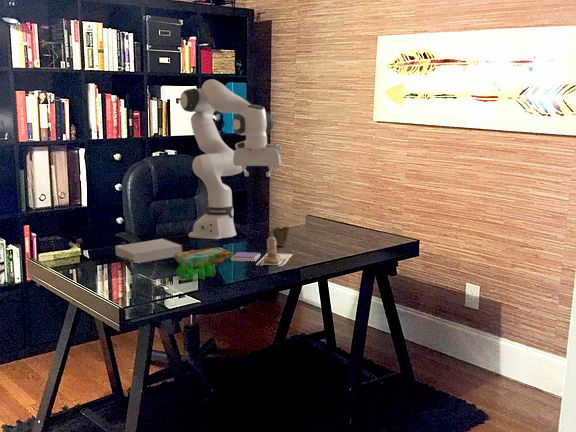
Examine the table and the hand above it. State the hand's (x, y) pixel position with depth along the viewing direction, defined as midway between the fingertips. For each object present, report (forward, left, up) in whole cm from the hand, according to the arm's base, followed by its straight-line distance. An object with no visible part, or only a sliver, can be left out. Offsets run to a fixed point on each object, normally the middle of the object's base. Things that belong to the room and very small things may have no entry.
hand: (257, 176), depth 279 cm
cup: (+9, +4, -31) cm, 33 cm away
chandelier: (-12, -48, -32) cm, 58 cm away
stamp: (+12, -25, -31) cm, 41 cm away
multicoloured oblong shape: (-16, -28, -32) cm, 45 cm away
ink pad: (0, -20, -31) cm, 37 cm away
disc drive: (-42, -21, -32) cm, 56 cm away
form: (+12, -20, -31) cm, 39 cm away
